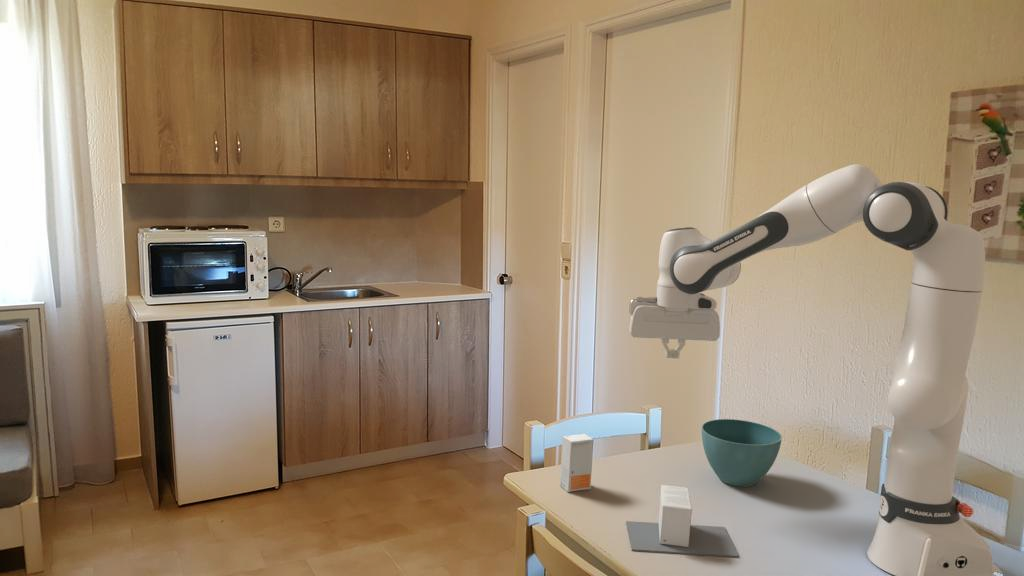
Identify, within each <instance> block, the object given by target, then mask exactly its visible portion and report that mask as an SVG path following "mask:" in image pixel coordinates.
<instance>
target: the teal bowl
mask: <svg viewBox="0 0 1024 576" xmlns="http://www.w3.org/2000/svg"><path fill="white" fill-rule="evenodd" d="M782 438H783V436H782V434H781V433H780V432H779V431H778V430H776V429H774V428H772V427H770V426H768V425H764V424H763V423H757V422H753V421H751V420H749V421H748V420H743V419H736V418H735V419H734V418H732V419H731V418H721V419H719V418H718V419H712V420H707V421H706V422H704V423H703V424H702V425H701V439H702V445H703V449H704V454H705V457H706V459H707V462H708V463H709V465H710V467H711V468H712V470H713V472H714V473H715V475H716V476H717V477H718V478H719V480H721V482H723V483H725V484H727V485H730V486H734V487H741V488H742V487H747V488H748V487H751V486H754V485H755V484H757V483H758V482H759V481H761V479H763V478H764V477H765V476H766V475H767V473H768V472H769V471H770V469H772V467H773V466H774V463H775V461H776V460H777V456H778V454H779V452H780V448H781V444H782Z"/></svg>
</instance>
